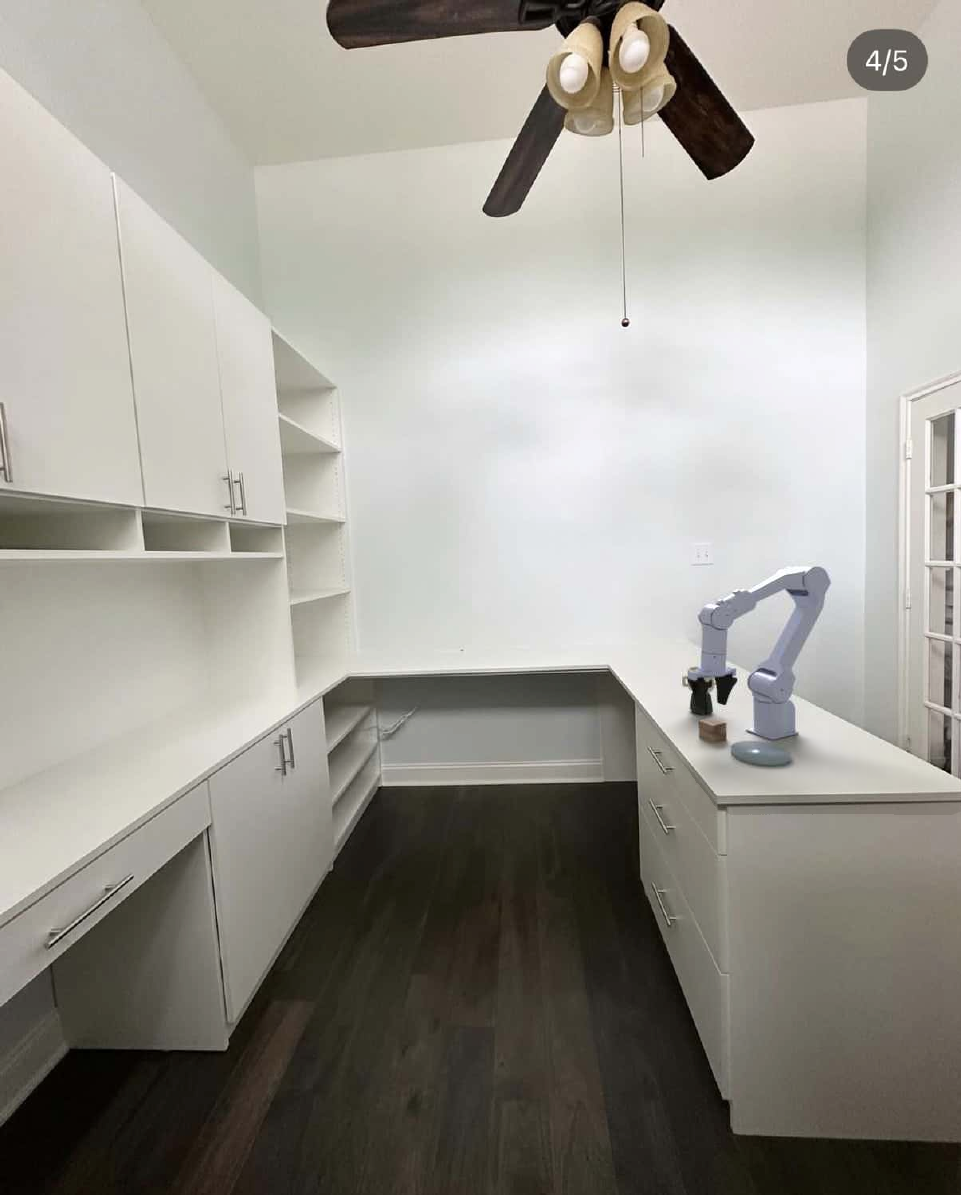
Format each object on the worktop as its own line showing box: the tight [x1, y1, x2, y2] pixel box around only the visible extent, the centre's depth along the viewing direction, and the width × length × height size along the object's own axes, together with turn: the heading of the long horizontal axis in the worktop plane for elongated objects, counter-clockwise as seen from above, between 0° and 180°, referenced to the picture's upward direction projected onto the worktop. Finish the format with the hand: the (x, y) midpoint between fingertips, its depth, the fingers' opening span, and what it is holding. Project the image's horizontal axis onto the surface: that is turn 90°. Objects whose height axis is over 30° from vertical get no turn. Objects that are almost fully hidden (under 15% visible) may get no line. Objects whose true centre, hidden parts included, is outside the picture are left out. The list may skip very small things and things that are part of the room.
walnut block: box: [698, 717, 727, 744], centre depth 127 cm, size 4×4×4 cm
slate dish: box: [730, 740, 792, 767], centre depth 116 cm, size 12×12×1 cm
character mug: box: [681, 666, 716, 715], centre depth 147 cm, size 11×7×13 cm, turn 90°
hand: (711, 705), depth 127 cm, fingers open, 7 cm apart
